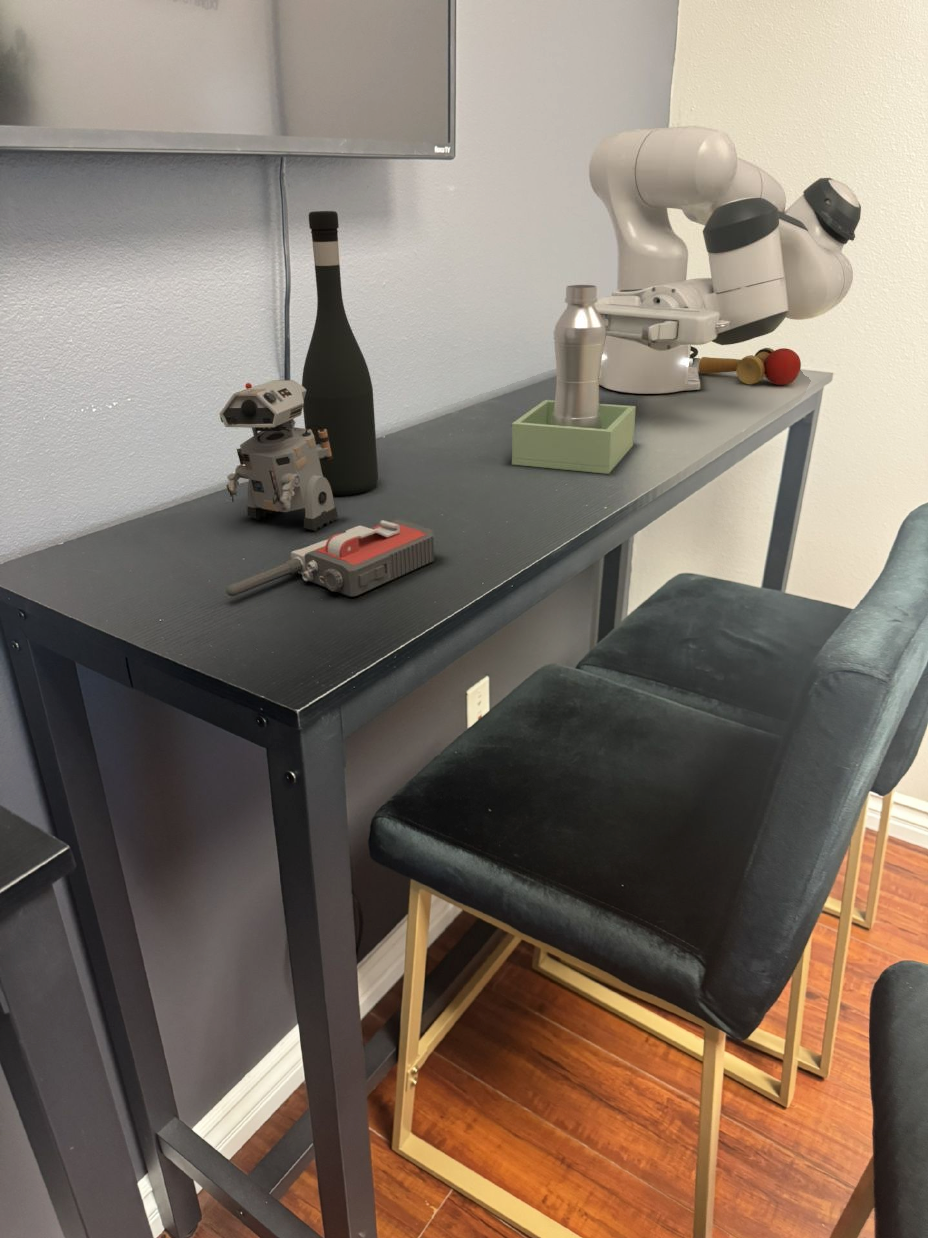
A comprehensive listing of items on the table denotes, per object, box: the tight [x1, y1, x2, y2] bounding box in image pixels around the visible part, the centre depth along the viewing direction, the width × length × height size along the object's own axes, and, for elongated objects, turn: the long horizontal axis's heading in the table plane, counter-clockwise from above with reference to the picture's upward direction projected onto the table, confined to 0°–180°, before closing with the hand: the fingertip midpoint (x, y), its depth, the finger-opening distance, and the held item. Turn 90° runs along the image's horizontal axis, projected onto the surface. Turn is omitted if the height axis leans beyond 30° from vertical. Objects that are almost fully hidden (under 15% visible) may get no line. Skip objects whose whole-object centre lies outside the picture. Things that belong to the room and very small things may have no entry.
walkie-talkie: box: [225, 518, 435, 598], centre depth 81 cm, size 9×4×20 cm
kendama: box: [698, 347, 802, 386], centre depth 156 cm, size 8×6×18 cm
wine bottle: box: [301, 210, 379, 496], centre depth 100 cm, size 8×8×30 cm
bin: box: [511, 399, 636, 475], centre depth 116 cm, size 14×13×5 cm
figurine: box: [219, 379, 338, 532], centre depth 92 cm, size 9×12×15 cm
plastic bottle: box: [550, 284, 607, 429], centre depth 113 cm, size 6×7×20 cm
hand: (615, 329), depth 118 cm, fingers open, 8 cm apart
